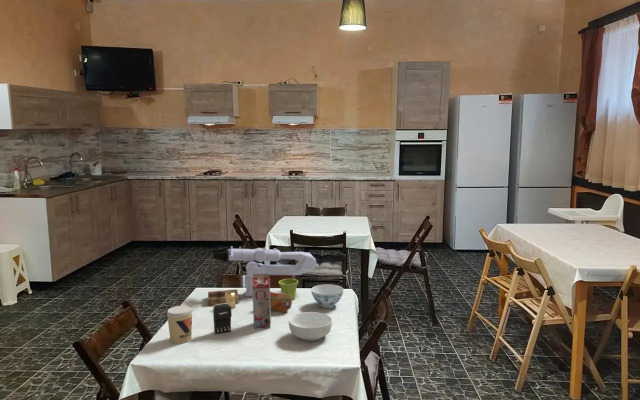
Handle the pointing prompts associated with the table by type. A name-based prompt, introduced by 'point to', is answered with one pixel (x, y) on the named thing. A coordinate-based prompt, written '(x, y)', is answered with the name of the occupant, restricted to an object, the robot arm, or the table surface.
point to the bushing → (230, 299)
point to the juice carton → (261, 301)
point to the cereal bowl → (310, 325)
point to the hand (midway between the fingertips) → (212, 254)
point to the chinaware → (327, 294)
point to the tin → (280, 302)
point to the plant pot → (289, 287)
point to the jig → (220, 297)
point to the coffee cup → (180, 324)
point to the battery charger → (222, 318)
